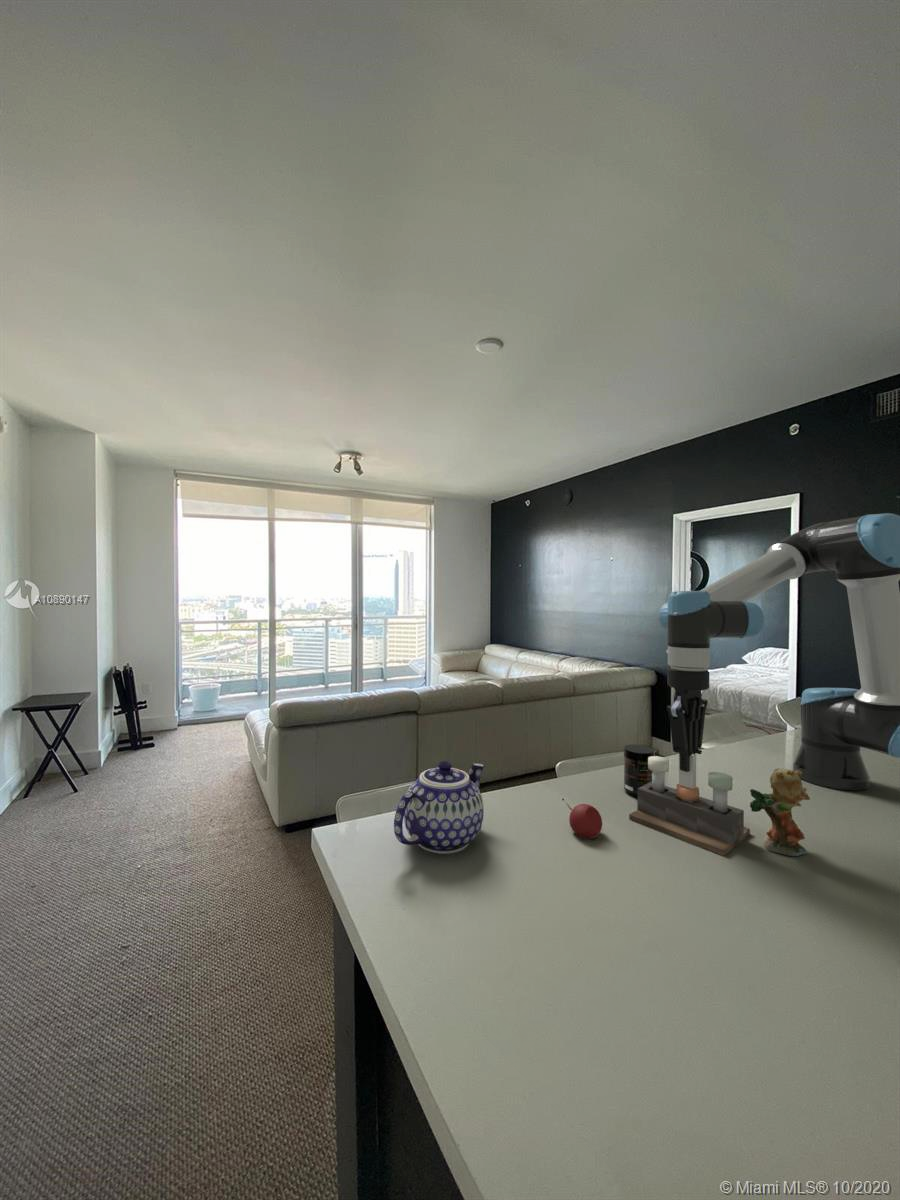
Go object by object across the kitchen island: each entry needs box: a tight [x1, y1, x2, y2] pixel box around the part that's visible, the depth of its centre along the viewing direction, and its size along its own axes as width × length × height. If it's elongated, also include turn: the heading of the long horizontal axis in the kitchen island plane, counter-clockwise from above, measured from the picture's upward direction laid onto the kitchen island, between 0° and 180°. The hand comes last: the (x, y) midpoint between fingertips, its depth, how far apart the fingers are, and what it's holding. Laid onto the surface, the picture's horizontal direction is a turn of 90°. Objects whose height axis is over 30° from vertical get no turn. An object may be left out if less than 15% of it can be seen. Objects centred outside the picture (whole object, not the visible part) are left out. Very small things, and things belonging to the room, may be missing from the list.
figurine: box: [749, 767, 811, 857], centre depth 86 cm, size 9×8×15 cm
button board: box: [628, 782, 751, 857], centre depth 94 cm, size 12×18×6 cm
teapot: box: [393, 760, 485, 855], centre depth 88 cm, size 25×15×15 cm, turn 138°
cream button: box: [648, 755, 670, 793], centre depth 99 cm, size 4×4×6 cm
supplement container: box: [623, 744, 656, 798], centre depth 110 cm, size 7×7×10 cm
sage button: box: [707, 771, 733, 813], centre depth 89 cm, size 4×4×6 cm
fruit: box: [561, 798, 603, 839], centre depth 92 cm, size 6×6×8 cm
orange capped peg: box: [676, 783, 700, 804], centre depth 94 cm, size 4×4×6 cm
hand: (687, 785), depth 94 cm, fingers closed
